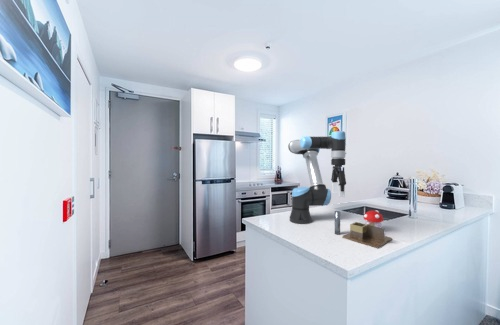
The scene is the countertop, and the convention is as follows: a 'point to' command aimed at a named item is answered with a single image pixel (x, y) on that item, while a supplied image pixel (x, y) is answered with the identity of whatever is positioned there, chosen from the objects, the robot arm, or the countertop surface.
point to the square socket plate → (367, 234)
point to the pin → (337, 222)
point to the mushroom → (374, 218)
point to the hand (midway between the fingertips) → (338, 195)
